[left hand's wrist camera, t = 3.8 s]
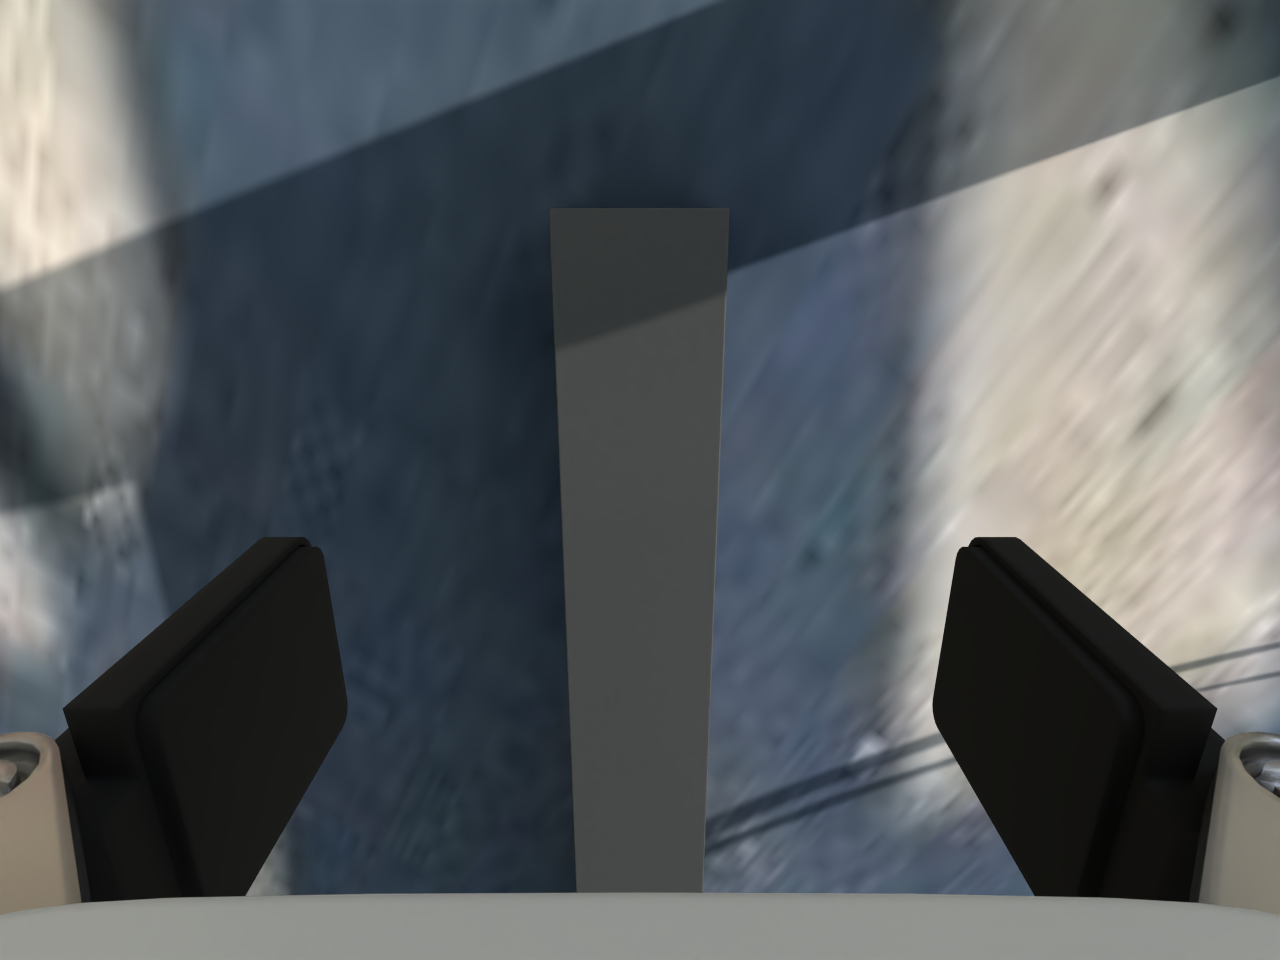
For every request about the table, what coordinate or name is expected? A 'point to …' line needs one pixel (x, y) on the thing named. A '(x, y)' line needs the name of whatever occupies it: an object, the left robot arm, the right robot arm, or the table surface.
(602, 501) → the post
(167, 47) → the table surface
